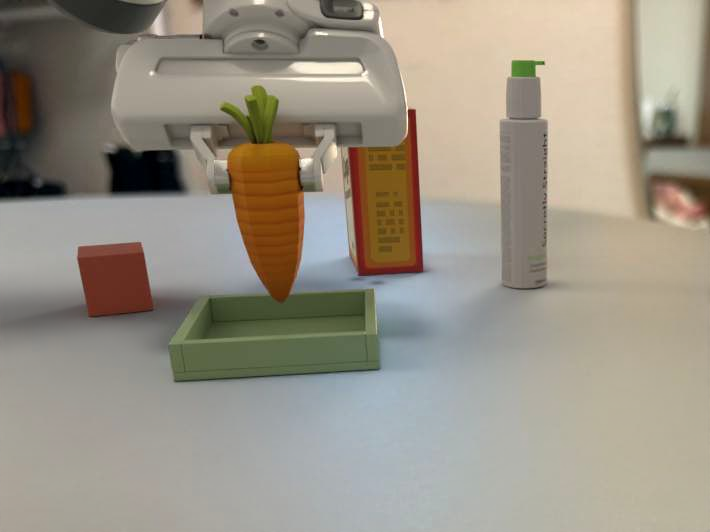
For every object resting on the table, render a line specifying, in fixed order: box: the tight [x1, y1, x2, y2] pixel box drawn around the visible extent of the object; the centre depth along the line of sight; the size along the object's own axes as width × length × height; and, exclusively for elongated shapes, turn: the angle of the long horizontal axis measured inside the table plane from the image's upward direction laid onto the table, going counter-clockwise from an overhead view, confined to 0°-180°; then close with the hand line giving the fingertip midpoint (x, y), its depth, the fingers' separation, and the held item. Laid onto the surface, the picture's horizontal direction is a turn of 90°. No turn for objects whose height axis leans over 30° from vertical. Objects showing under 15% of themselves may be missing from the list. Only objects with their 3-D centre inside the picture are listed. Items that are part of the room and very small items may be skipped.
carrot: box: [220, 85, 306, 303], centre depth 60 cm, size 5×5×15 cm
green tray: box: [167, 288, 380, 382], centre depth 63 cm, size 14×13×3 cm
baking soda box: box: [340, 105, 424, 276], centre depth 87 cm, size 10×6×16 cm
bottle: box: [499, 59, 549, 290], centre depth 78 cm, size 4×4×20 cm
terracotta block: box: [76, 241, 155, 318], centre depth 73 cm, size 5×5×5 cm
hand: (267, 188), depth 59 cm, fingers closed on carrot, 5 cm apart
